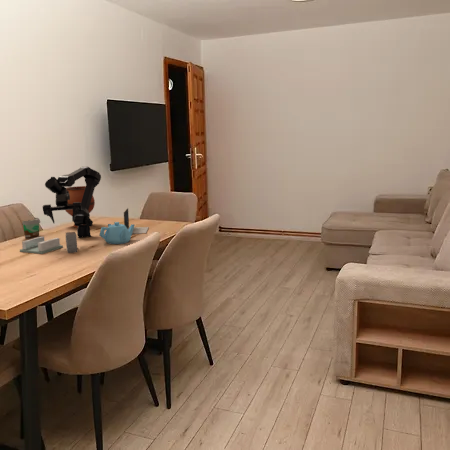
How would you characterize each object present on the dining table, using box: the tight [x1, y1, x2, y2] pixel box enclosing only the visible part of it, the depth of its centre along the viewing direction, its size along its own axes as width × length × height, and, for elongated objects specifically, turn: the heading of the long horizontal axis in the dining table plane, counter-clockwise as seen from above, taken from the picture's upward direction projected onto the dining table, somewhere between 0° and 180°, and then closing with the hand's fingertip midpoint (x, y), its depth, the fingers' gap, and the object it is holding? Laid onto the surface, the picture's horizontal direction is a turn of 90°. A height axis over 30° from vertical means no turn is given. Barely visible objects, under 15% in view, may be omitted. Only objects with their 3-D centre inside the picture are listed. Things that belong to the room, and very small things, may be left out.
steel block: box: [65, 231, 78, 254], centre depth 236 cm, size 4×7×9 cm, turn 23°
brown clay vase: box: [64, 185, 96, 229], centre depth 300 cm, size 19×19×25 cm
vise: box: [19, 237, 64, 255], centre depth 240 cm, size 15×14×5 cm
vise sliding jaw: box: [21, 236, 45, 250], centre depth 242 cm, size 13×4×4 cm, turn 158°
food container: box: [22, 217, 41, 239], centre depth 271 cm, size 12×6×10 cm, turn 168°
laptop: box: [123, 207, 149, 235], centre depth 285 cm, size 18×12×13 cm
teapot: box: [99, 221, 135, 245], centre depth 256 cm, size 15×15×11 cm
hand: (63, 222), depth 241 cm, fingers open, 9 cm apart
